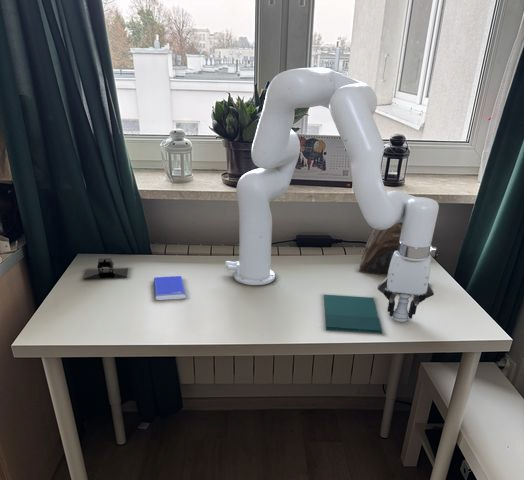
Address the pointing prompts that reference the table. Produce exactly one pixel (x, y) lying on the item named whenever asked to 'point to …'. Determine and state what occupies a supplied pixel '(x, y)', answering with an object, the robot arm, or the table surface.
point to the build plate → (106, 271)
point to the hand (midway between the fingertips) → (400, 314)
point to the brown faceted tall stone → (380, 250)
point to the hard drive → (169, 288)
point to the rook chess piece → (401, 308)
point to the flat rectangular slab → (351, 314)
